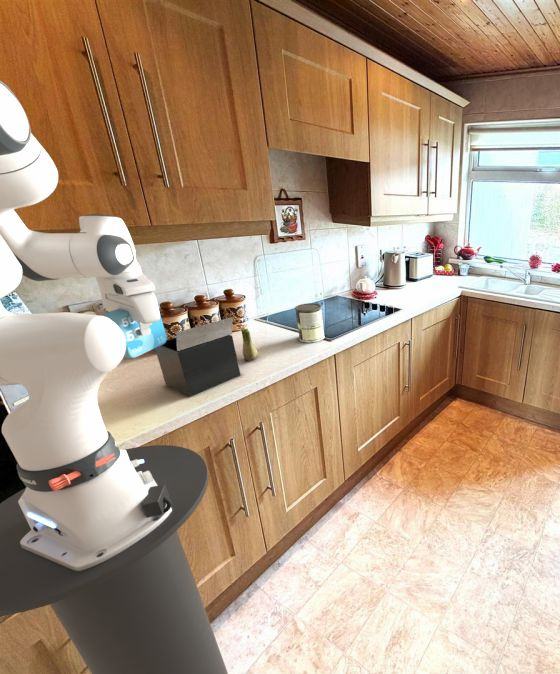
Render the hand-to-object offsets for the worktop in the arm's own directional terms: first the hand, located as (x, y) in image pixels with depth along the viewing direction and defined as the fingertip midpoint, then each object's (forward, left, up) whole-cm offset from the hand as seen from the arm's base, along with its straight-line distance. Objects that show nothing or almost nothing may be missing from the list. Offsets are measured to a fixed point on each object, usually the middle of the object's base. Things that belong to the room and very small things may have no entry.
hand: (138, 332), depth 94 cm
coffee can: (+2, -58, -22) cm, 62 cm away
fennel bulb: (+5, -32, -22) cm, 39 cm away
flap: (-5, -14, -4) cm, 15 cm away
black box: (+3, -14, -22) cm, 26 cm away
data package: (0, 0, -5) cm, 5 cm away
